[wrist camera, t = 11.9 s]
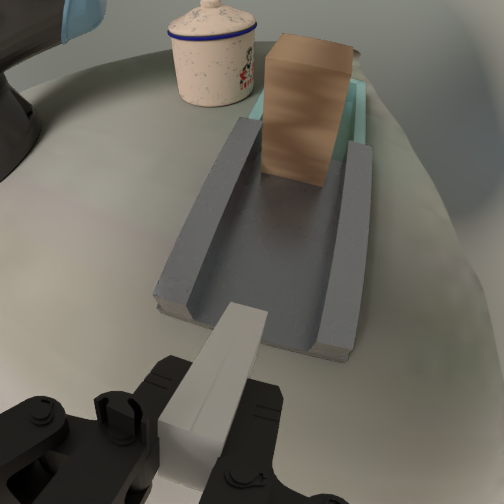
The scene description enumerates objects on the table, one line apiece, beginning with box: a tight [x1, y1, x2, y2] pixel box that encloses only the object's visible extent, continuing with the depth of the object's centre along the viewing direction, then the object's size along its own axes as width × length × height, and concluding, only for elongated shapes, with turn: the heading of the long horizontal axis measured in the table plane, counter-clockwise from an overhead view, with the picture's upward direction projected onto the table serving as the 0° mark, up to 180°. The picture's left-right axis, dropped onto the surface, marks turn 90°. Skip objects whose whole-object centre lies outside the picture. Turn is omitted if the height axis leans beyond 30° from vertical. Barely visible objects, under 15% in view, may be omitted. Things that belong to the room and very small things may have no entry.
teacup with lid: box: [168, 0, 257, 107], centre depth 28 cm, size 12×9×12 cm
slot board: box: [153, 117, 372, 363], centre depth 21 cm, size 12×16×4 cm
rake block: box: [261, 33, 353, 187], centre depth 21 cm, size 5×5×10 cm
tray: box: [248, 78, 366, 162], centre depth 28 cm, size 10×12×3 cm
